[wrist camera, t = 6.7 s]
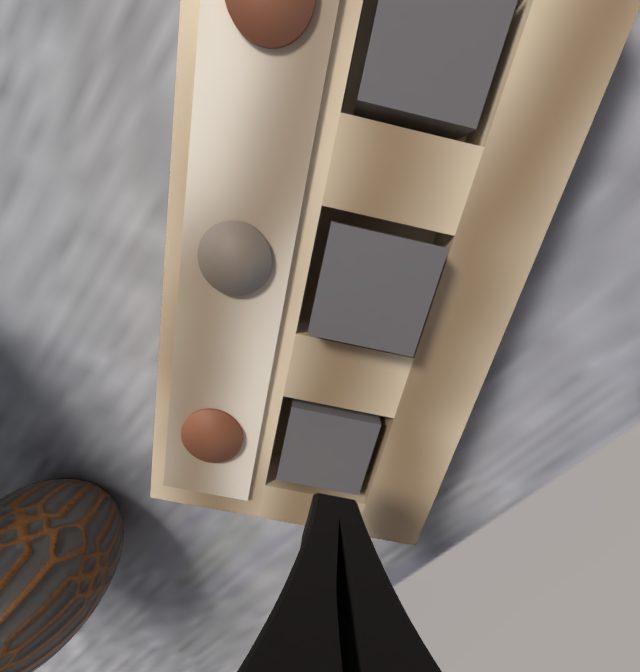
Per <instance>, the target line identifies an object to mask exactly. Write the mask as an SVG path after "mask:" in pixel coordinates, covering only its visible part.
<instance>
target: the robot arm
mask: <svg viewBox="0 0 640 672" xmlns="http://www.w3.org/2000/svg"><path fill="white" fill-rule="evenodd" d="M237 672H441V670H440V668H439V667H438V665H437V664H436V662H435V661H434V659H433V657H432V656H431V654H430V653H429V651H428V649H427V648H426V646H425V645H424V643H423V641H422V640H421V638H420V636H419V635H418V633H417V631H416V629H415V628H414V626H413V624H412V623H411V621H410V619H409V617H408V616H407V613H406V612H405V610H404V608H403V606H402V604H401V602H400V600H399V598H398V596H397V595H396V593H395V591H394V589H393V587H392V585H391V583H390V581H389V579H388V576H387V574H386V572H385V570H384V568H383V566H382V564H381V561H380V559H379V557H378V555H377V553H376V550H375V548H374V546H373V543H372V541H371V538H370V536H369V533H368V531H367V529H366V526H365V523H364V521H363V518H362V515H361V513H360V510H359V507H358V504H357V502H356V501H355V500H353V499H348V498H343V497H337V496H332V495H327V494H322V493H316V494H314V495H313V498H312V502H311V505H310V509H309V513H308V517H307V520H306V524H305V528H304V532H303V536H302V542H301V548H300V551H299V553H298V556H297V558H296V560H295V563H294V565H293V567H292V570H291V572H290V574H289V577H288V579H287V581H286V583H285V585H284V587H283V590H282V592H281V594H280V596H279V598H278V600H277V602H276V604H275V606H274V608H273V610H272V612H271V614H270V615H269V617H268V619H267V621H266V623H265V625H264V626H263V628H262V630H261V632H260V634H259V636H258V637H257V639H256V641H255V643H254V645H253V646H252V648H251V650H250V651H249V653H248V655H247V657H246V658H245V660H244V661H243V663H242V665H241V666H240V668H239V670H238V671H237Z"/></svg>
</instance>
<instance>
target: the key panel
mask: <svg viewBox="0 0 640 672" xmlns="http://www.w3.org/2000/svg"><path fill="white" fill-rule="evenodd" d="M377 1H378V0H181V3H180V20H179V36H178V52H177V68H176V85H175V101H174V117H173V133H172V150H171V166H170V182H169V198H168V214H167V231H166V247H165V263H164V279H163V296H162V312H161V328H160V344H159V361H158V377H157V393H156V409H155V425H154V442H153V458H152V474H151V490H150V497H151V498H156V499H162V500H167V501H173V502H178V503H184V504H190V505H195V506H201V507H206V508H212V509H217V510H223V511H228V512H234V513H239V514H245V515H250V516H256V517H261V518H267V519H272V520H278V521H283V522H289V523H294V524H300V525H305V524H306V520H307V517H308V513H309V509H310V505H311V502H312V498H313V495H314V494H316V493H322V494H327V495H332V496H337V497H343V498H348V499H353V500H355V501H356V502H357V504H358V507H359V510H360V513H361V515H362V518H363V521H364V523H365V526H366V529H367V531H368V533H369V536H370V537H372V538H377V539H383V540H388V541H394V542H399V543H405V544H410V545H416V543H417V541H418V538H419V536H420V533H421V531H422V529H423V526H424V524H425V521H426V519H427V517H428V514H429V512H430V509H431V507H432V505H433V502H434V500H435V497H436V495H437V493H438V490H439V488H440V485H441V483H442V481H443V478H444V476H445V473H446V471H447V469H448V466H449V464H450V462H451V459H452V457H453V454H454V452H455V450H456V447H457V445H458V442H459V440H460V438H461V435H462V433H463V430H464V428H465V426H466V423H467V421H468V418H469V416H470V414H471V411H472V409H473V406H474V404H475V402H476V399H477V397H478V395H479V392H480V390H481V387H482V385H483V383H484V380H485V378H486V375H487V373H488V371H489V368H490V366H491V363H492V361H493V359H494V356H495V354H496V351H497V349H498V347H499V344H500V342H501V339H502V337H503V335H504V332H505V330H506V327H507V325H508V323H509V320H510V318H511V316H512V313H513V311H514V308H515V306H516V304H517V301H518V299H519V296H520V294H521V292H522V289H523V287H524V284H525V282H526V280H527V277H528V275H529V272H530V270H531V268H532V265H533V263H534V260H535V258H536V256H537V253H538V251H539V249H540V246H541V244H542V241H543V239H544V237H545V234H546V232H547V229H548V227H549V225H550V222H551V220H552V217H553V215H554V213H555V210H556V208H557V205H558V203H559V201H560V198H561V196H562V193H563V191H564V189H565V186H566V184H567V181H568V179H569V177H570V174H571V172H572V170H573V167H574V165H575V162H576V160H577V158H578V155H579V153H580V150H581V148H582V146H583V143H584V141H585V138H586V136H587V134H588V131H589V129H590V126H591V124H592V122H593V119H594V117H595V114H596V112H597V110H598V107H599V105H600V103H601V100H602V98H603V95H604V93H605V91H606V88H607V86H608V83H609V81H610V79H611V76H612V74H613V71H614V69H615V67H616V64H617V62H618V59H619V57H620V55H621V52H622V50H623V47H624V45H625V43H626V40H627V38H628V35H629V33H630V31H631V28H632V26H633V24H634V21H635V19H636V16H637V14H638V12H639V9H640V0H518V1H517V4H516V7H515V10H514V13H513V17H512V20H511V23H510V26H509V29H508V32H507V35H506V38H505V42H504V45H503V48H502V51H501V54H500V57H499V60H498V63H497V66H496V70H495V73H494V76H493V79H492V82H491V85H490V88H489V91H488V94H487V98H486V101H485V104H484V107H483V110H482V113H481V116H480V119H479V122H478V126H477V129H476V130H474V131H472V132H470V133H469V134H467V135H465V136H463V137H462V138H460V139H458V140H452V139H448V138H444V137H440V136H436V135H432V134H428V133H424V132H420V131H415V130H411V129H407V128H403V127H399V126H395V125H391V124H387V123H383V122H378V121H374V120H370V119H366V118H362V117H358V116H354V115H353V114H354V109H355V104H356V100H357V95H358V90H359V85H360V81H361V76H362V71H363V67H364V62H365V57H366V53H367V48H368V43H369V39H370V34H371V29H372V25H373V20H374V15H375V10H376V6H377ZM331 221H335V222H339V223H343V224H348V225H352V226H357V227H361V228H365V229H370V230H374V231H379V232H383V233H388V234H392V235H396V236H401V237H405V238H410V239H414V240H418V241H423V242H427V243H431V244H435V245H438V246H442V247H445V248H449V250H448V253H447V256H446V259H445V262H444V265H443V268H442V271H441V274H440V277H439V281H438V284H437V287H436V290H435V293H434V296H433V299H432V302H431V305H430V308H429V311H428V314H427V317H426V320H425V323H424V326H423V329H422V332H421V335H420V338H419V341H418V344H417V347H416V350H415V353H414V356H413V357H411V356H406V355H401V354H396V353H392V352H387V351H382V350H377V349H372V348H368V347H363V346H358V345H353V344H349V343H344V342H339V341H334V340H329V339H325V338H320V337H315V336H310V335H307V334H308V328H309V322H310V317H311V312H312V307H313V303H314V298H315V293H316V288H317V284H318V279H319V274H320V270H321V265H322V260H323V256H324V251H325V246H326V242H327V237H328V232H329V228H330V223H331ZM293 398H295V399H300V400H305V401H310V402H315V403H320V404H325V405H330V406H335V407H340V408H345V409H350V410H355V411H360V412H365V413H370V414H375V415H379V418H380V422H381V428H380V431H379V434H378V437H377V440H376V443H375V446H374V449H373V452H372V456H371V459H370V462H369V465H368V468H367V471H366V474H365V477H364V481H363V484H362V487H361V490H360V493H359V495H355V494H349V493H344V492H339V491H333V490H328V489H323V488H317V487H312V486H307V485H301V484H296V483H291V482H285V481H280V480H276V477H277V472H278V467H279V462H280V456H281V451H282V446H283V442H284V437H285V432H286V428H287V423H288V418H289V414H290V409H291V404H292V400H293Z"/></svg>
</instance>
